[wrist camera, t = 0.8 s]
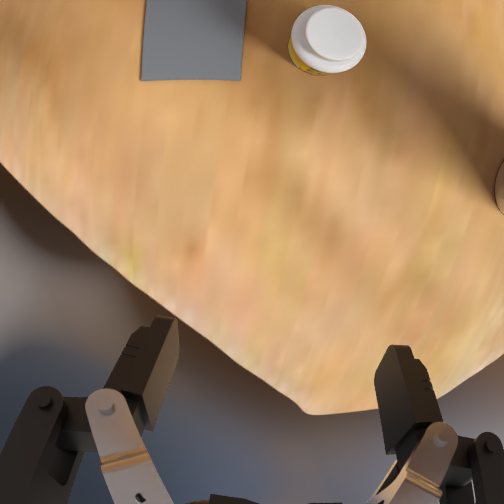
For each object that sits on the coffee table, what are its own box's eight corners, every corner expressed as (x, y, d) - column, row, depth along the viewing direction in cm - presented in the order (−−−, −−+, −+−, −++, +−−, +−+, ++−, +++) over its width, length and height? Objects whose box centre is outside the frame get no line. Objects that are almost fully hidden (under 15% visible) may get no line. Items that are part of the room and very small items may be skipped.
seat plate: (247, -12, 23) (247, -13, 23) (240, 80, 28) (239, 80, 27) (149, -7, 23) (147, -8, 23) (142, 81, 28) (141, 81, 28)
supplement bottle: (296, 81, 27) (305, 78, 19) (281, 29, 25) (281, 3, 16) (352, 71, 26) (384, 66, 17) (337, 19, 24) (362, -8, 15)
